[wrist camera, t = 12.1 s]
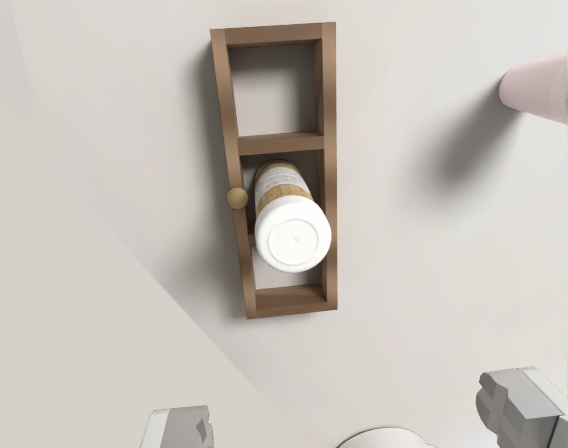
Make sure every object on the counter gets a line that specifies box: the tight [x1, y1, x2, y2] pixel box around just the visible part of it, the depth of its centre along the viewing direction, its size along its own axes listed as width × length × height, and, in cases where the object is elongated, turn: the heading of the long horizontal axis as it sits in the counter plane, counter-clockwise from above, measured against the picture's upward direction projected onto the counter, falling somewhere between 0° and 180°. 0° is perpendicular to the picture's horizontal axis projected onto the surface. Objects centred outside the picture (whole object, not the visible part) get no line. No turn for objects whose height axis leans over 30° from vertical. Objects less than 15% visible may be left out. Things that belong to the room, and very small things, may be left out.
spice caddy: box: [210, 22, 337, 319], centre depth 31 cm, size 25×9×4 cm, turn 4°
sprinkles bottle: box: [254, 159, 331, 273], centre depth 26 cm, size 5×5×13 cm
